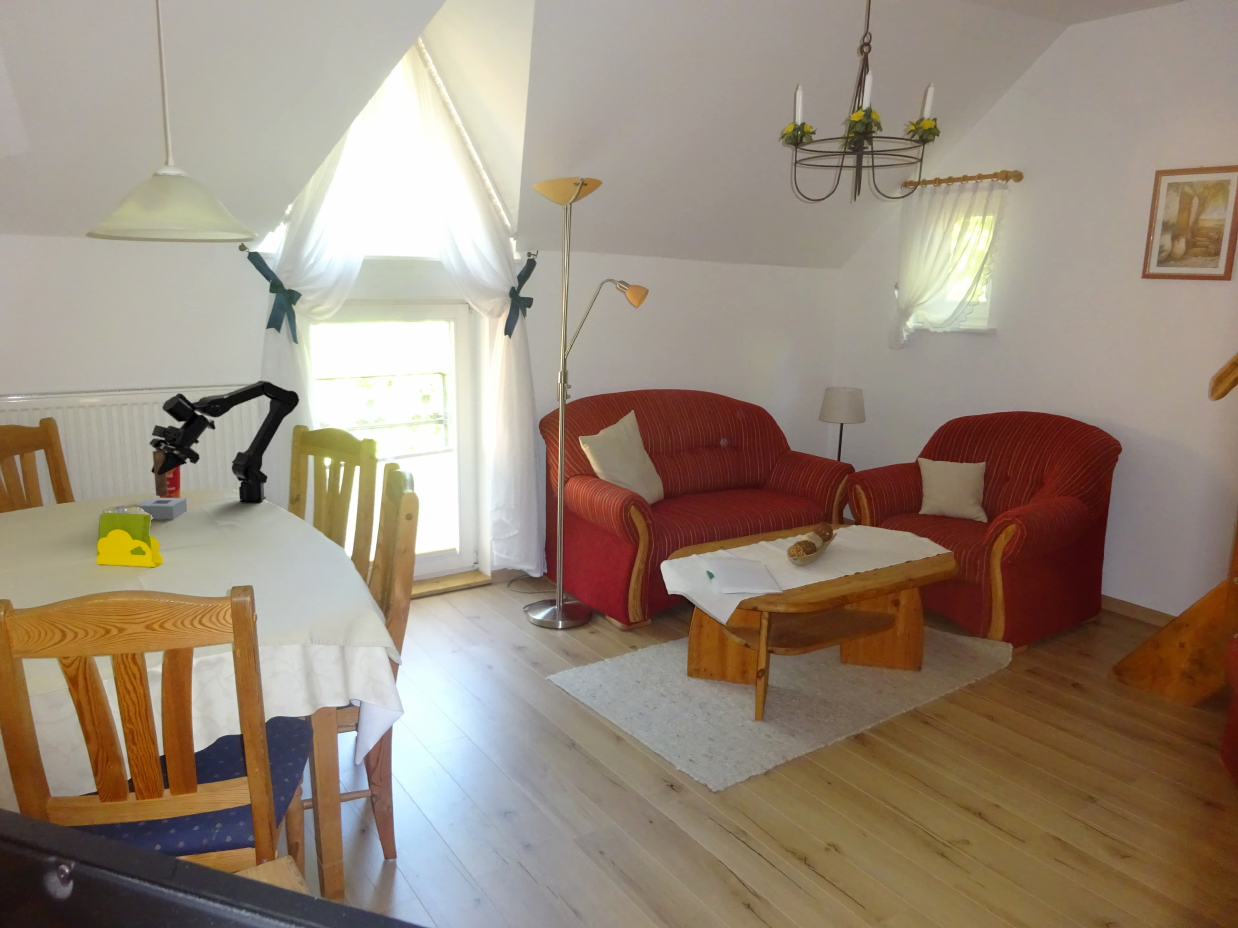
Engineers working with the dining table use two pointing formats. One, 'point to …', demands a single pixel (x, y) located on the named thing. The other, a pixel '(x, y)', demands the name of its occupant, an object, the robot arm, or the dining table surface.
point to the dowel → (159, 479)
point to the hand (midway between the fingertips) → (155, 473)
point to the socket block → (164, 507)
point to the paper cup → (173, 483)
